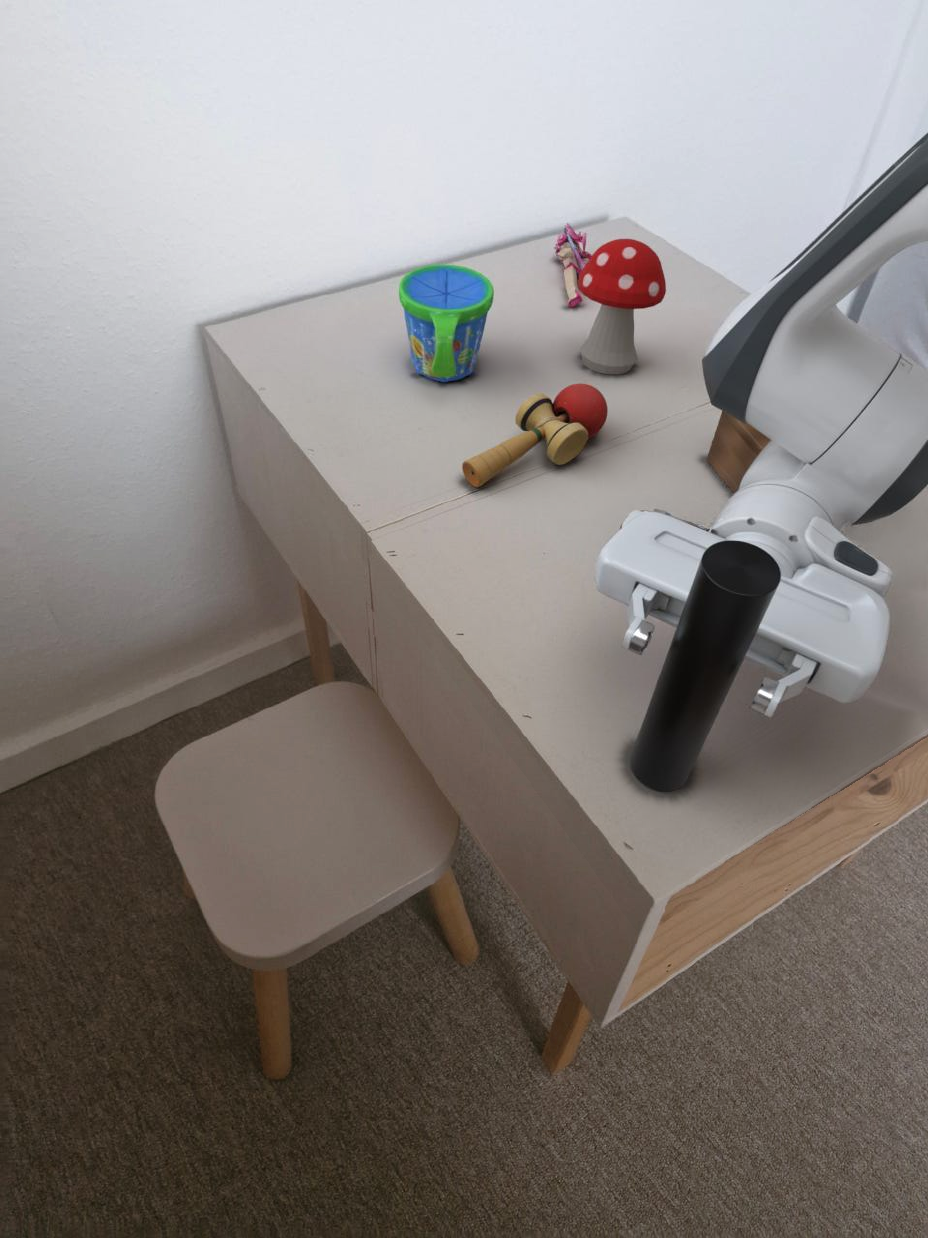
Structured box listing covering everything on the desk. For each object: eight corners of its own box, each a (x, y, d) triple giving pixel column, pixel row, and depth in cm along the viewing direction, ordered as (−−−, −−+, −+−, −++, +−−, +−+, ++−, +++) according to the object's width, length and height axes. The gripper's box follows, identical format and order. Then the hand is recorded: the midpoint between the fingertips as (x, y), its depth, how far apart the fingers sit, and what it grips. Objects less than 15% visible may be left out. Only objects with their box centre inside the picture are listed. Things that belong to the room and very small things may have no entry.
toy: (581, 326, 114) (562, 266, 123) (619, 303, 112) (597, 244, 121) (556, 285, 109) (538, 226, 118) (595, 261, 107) (574, 202, 116)
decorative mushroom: (560, 375, 101) (579, 251, 90) (572, 338, 107) (590, 218, 95) (643, 389, 100) (673, 266, 89) (650, 351, 105) (679, 231, 94)
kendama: (501, 518, 86) (627, 435, 92) (491, 467, 81) (624, 384, 87) (455, 488, 91) (577, 411, 97) (443, 439, 86) (572, 361, 92)
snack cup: (481, 409, 96) (487, 327, 88) (389, 399, 96) (387, 317, 89) (493, 337, 106) (499, 257, 99) (410, 328, 107) (410, 249, 99)
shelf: (857, 512, 87) (909, 414, 78) (765, 532, 84) (807, 433, 75) (792, 443, 94) (832, 346, 85) (706, 459, 92) (737, 361, 83)
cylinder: (697, 757, 66) (791, 558, 50) (676, 802, 64) (767, 607, 47) (643, 731, 68) (717, 529, 51) (620, 773, 65) (690, 575, 49)
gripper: (645, 471, 65) (563, 579, 57) (917, 579, 58) (867, 718, 50) (630, 532, 70) (551, 639, 62) (880, 638, 63) (828, 773, 55)
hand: (696, 675), depth 56 cm, fingers open, 8 cm apart
